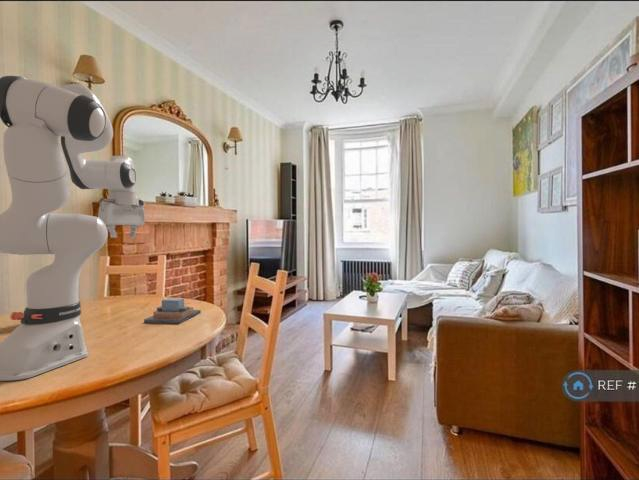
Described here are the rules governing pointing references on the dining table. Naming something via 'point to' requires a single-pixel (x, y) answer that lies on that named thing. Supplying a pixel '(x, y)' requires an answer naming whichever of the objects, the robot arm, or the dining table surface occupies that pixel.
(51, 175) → the robot arm
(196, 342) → the dining table surface
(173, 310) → the block
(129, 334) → the dining table surface
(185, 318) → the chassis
